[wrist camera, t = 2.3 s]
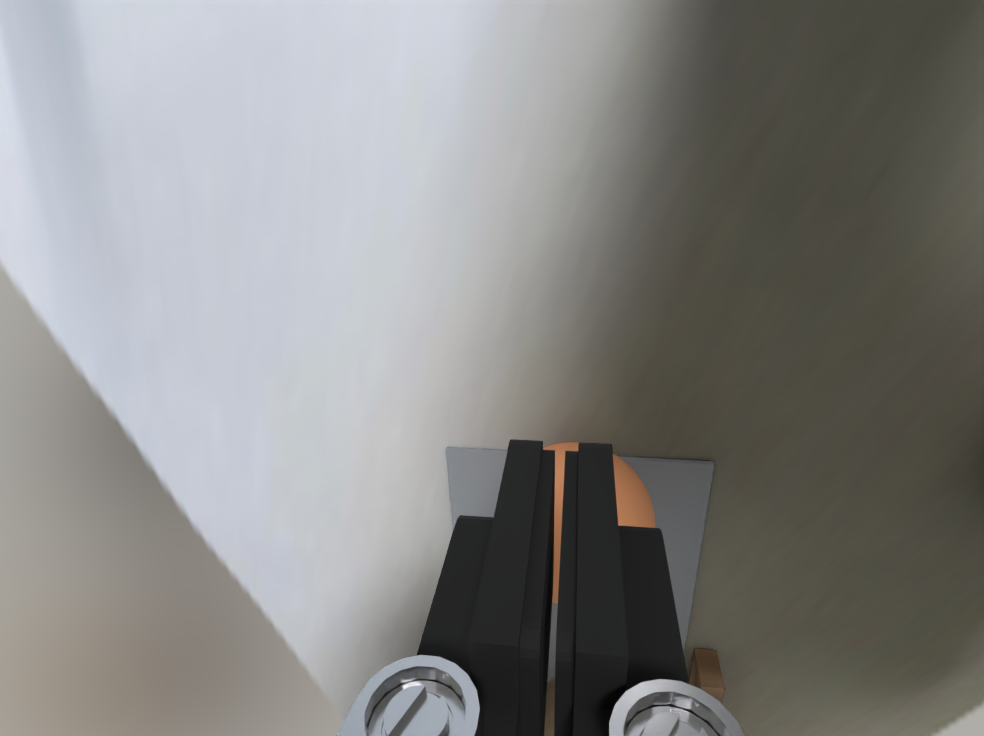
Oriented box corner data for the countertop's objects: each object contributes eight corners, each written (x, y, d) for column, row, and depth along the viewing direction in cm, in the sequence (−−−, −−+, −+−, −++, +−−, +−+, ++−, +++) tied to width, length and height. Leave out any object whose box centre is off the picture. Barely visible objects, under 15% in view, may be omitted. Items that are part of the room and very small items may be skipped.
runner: (446, 447, 25) (445, 449, 25) (713, 461, 24) (714, 464, 23) (477, 790, 37) (476, 794, 37) (656, 816, 35) (657, 820, 35)
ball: (502, 409, 24) (478, 505, 19) (653, 415, 23) (672, 518, 18) (506, 523, 27) (486, 635, 21) (642, 532, 26) (656, 652, 20)
